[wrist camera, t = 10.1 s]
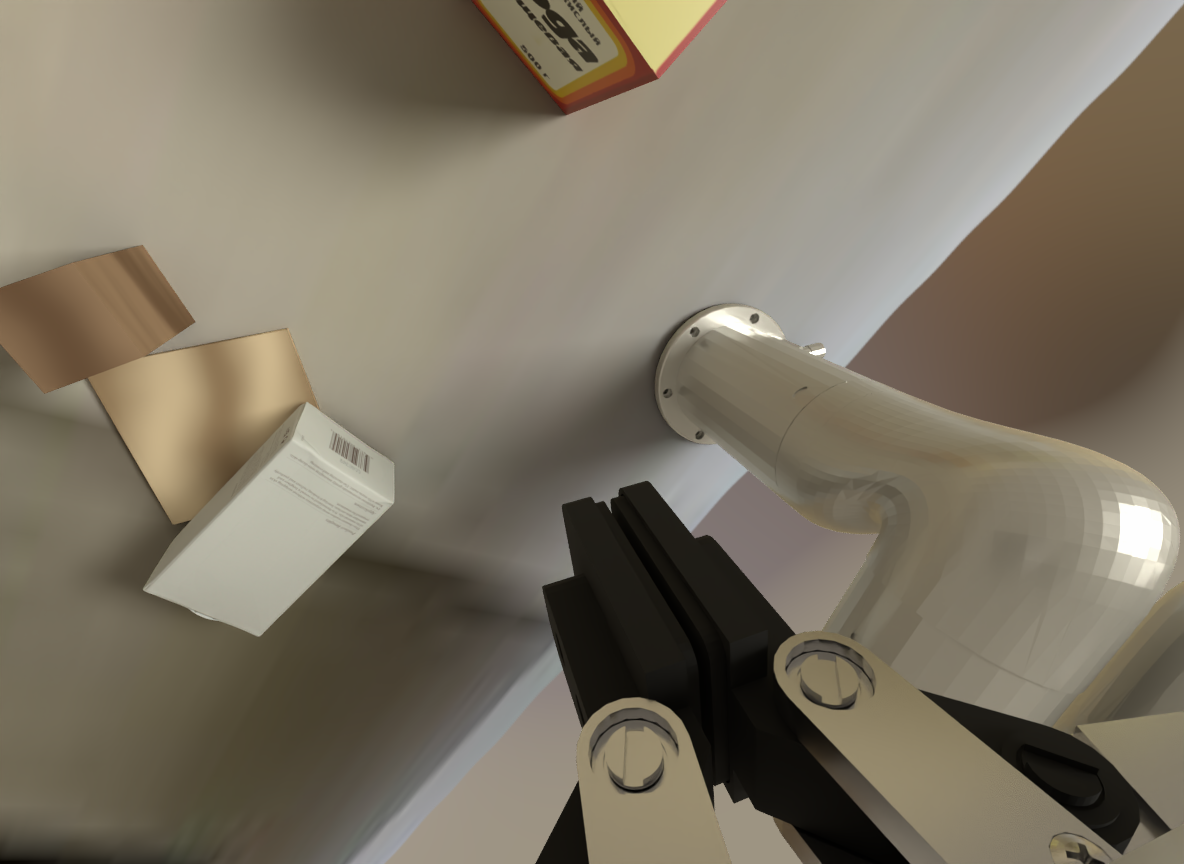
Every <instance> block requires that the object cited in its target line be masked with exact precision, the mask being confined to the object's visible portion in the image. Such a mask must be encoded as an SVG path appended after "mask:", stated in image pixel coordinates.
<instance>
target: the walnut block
mask: <svg viewBox="0 0 1184 864" xmlns="http://www.w3.org/2000/svg"><path fill="white" fill-rule="evenodd" d="M193 323H195V321H194V319H193V318H192V316H191V315H190V313H189V312H188V310H187V309H186V307H185V306H184V305H183V303H182V302H181V300H180V299H179V297H178V296H177V294H176V293H175V291H174V290H173V289H172V287H171V286H170V284H169V283H168V281H167V280H166V278H165V277H164V275H163V274H162V273H161V271H160V270H159V268H158V267H157V265H156V264H155V262H154V261H153V259H152V258H151V257H150V255H149V254H148V252H147V251H146V249H145V248H144V246H143V245H141V246H137V247H133V248H129V249H125V250H121V251H117V252H113V253H109V254H105V255H101V256H97V257H93V258H89V259H85V260H81V261H77V262H74V263H70V264H68V265H65V266H62V267H59V268H56V269H53V270H50V271H47V272H44V273H41V274H39V275H36V276H33V277H30V278H27V279H24V280H21V281H18V282H15V283H13V284H10V285H7V286H4V287H1V288H0V344H1V345H2V346H3V348H4V349H5V350H6V351H7V352H8V353H9V354H10V355H11V357H12V358H13V359H14V360H15V361H16V362H17V363H18V364H19V366H20V367H21V368H22V369H23V370H24V371H25V372H26V374H27V375H28V376H29V377H30V378H31V379H32V380H33V381H34V383H35V384H36V385H37V386H38V387H39V388H40V389H41V390H42V392H43V393H44V394H45V393H48V392H51V391H53V390H56V389H59V388H61V387H64V386H67V385H69V384H72V383H75V382H77V381H80V380H83V379H86V378H88V377H91V376H94V375H96V374H99V373H102V372H104V371H107V370H110V369H112V368H115V367H118V366H121V365H123V364H126V363H129V362H131V361H134V360H137V359H139V358H142V357H145V356H146V355H147V354H149V353H150V352H152V351H153V350H155V349H156V348H158V347H159V346H161V345H162V344H164V343H165V342H167V341H168V340H170V339H171V338H173V337H174V336H176V335H177V334H178V333H180V332H181V331H183V330H184V329H186V328H187V327H189V326H190V325H192V324H193Z"/></svg>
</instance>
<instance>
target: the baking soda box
mask: <svg viewBox="0 0 1184 864" xmlns="http://www.w3.org/2000/svg"><path fill="white" fill-rule="evenodd" d="M471 1H472V2H473V3H474V4H475V5H476V7H477V8H478V9H479V10H480V12H481V13H482V14H483V15H484V16H485V18H486V19H487V20H488V21H489V22H490V24H491V25H492V26H493V27H494V28H495V30H496V31H497V32H498V33H499V34H500V36H501V37H502V38H503V39H504V41H505V42H506V43H507V44H508V45H509V47H510V48H511V49H512V50H513V51H514V53H515V54H516V55H517V56H518V57H519V59H520V60H521V61H522V62H523V63H524V65H525V66H526V67H527V68H528V69H529V71H530V72H531V73H532V74H533V76H534V77H535V78H536V79H537V80H538V82H539V83H540V84H541V85H542V86H543V88H544V89H545V90H546V91H547V92H548V94H549V95H550V96H551V97H552V98H553V100H554V101H555V102H556V103H557V104H558V106H559V107H560V108H561V109H562V111H563V112H564V113H565V114H566V115H568V114H571V113H573V112H576V111H578V110H581V109H583V108H586V107H588V106H591V105H593V104H596V103H598V102H601V101H603V100H606V99H608V98H611V97H614V96H616V95H619V94H621V93H624V92H626V91H629V90H631V89H634V88H636V87H639V86H641V85H644V84H646V83H649V82H652V81H654V80H657V79H659V78H660V77H661V75H662V74H663V73H664V72H665V71H666V70H667V69H668V67H669V66H670V65H671V64H672V63H673V62H674V61H675V59H676V58H677V57H678V56H679V55H680V54H681V53H682V51H683V50H684V49H685V48H686V47H687V46H688V45H689V43H690V42H691V41H692V40H693V39H694V38H695V37H696V35H697V34H698V33H699V32H700V31H701V30H702V29H703V27H704V26H705V25H706V24H707V23H708V22H709V21H710V19H711V18H712V17H713V16H714V15H715V14H716V13H717V11H718V10H719V9H720V8H721V7H722V6H723V5H724V3H725V2H726V1H727V0H471Z"/></svg>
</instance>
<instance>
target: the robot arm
mask: <svg viewBox="0 0 1184 864" xmlns="http://www.w3.org/2000/svg"><path fill="white" fill-rule="evenodd" d="M691 329H692V331H691V332H690V330H691ZM824 356H825V348H824V346H823V344H821V343H815V344H811V345H807V346H805V347H801V346H799V345H796V344H794V343H792V342H789V341H787V340H786V339H785V336H784V334H783V332H782V330H781V329H780V327H779V325H778V324H777V323H776V322H775V321H774V320H773V319H772V318H771V317H770V316H769V315H767V314H766V313H764V312H763V311H761V310H759V309H756V308H753V307H751V306H747V305H743V304H722V305H717V306H713V307H710V308H708V309H706V310H703V311H701V312H699V313H698V314H696V315H695V316H693V317H692V318H690V319H689V320H687V321H686V322H685V323H684V324H683V325H682V326H681V327H680V328H679V329H678V330H677V331H676V332H675V334H674V335H673V336H672V337H671V339H670V340H669V341H668V343H667V345H666V347H665V349H664V351H663V352H662V354H661V357H660V360H659V363H658V366H657V370H656V376H655V397H656V401H657V405H658V408H659V410H660V412H661V414H662V416H663V418H664V420H665V421H666V422H667V423H668V425H669V426H670V427H671V428H672V429H673V430H675V431H676V432H677V433H678V434H679V435H681V436H682V437H684V438H686V439H687V440H690V441H692V442H695V443H700V444H709V445H710V444H718V445H719V446H720V447H721V448H723V449H724V450H725V451H726V452H727V453H728V454H730V455H731V456H732V457H733V458H734V459H735V460H737V461H738V462H739V463H740V464H741V465H742V466H744V467H745V468H746V469H747V470H748V471H750V472H751V473H752V474H753V475H754V476H755V477H757V478H758V479H759V480H760V481H761V482H763V483H764V484H765V485H766V486H767V487H768V488H770V489H771V490H772V491H773V492H774V493H775V494H777V495H778V496H779V497H780V498H781V499H782V500H784V501H785V502H786V503H787V504H788V505H790V506H791V507H792V508H793V509H794V510H796V511H797V512H798V513H799V514H800V515H802V516H803V517H805V518H806V519H807V520H809V521H810V522H812V523H814V524H816V525H818V526H820V527H823V528H826V529H830V530H833V531H836V532H843V533H851V534H879V535H878V537H877V539H876V540H875V542H874V544H873V546H872V547H871V549H870V551H869V552H868V554H867V556H866V561H865V562H864V564H863V566H862V567H861V569H860V570H859V572H858V573H857V575H856V577H855V578H854V580H853V581H852V583H851V584H850V586H849V588H848V589H847V591H846V592H845V594H844V596H843V597H842V599H841V601H840V602H839V604H838V605H837V607H836V609H835V610H834V612H833V613H832V615H831V616H830V618H829V619H828V621H827V623H826V624H825V626H824V627H823V629H822V631H812V632H803V633H800V634H797V635H796V634H795V633H794V632H793V631H792V630H791V629H790V627H789V626H788V625H787V624H786V622H785V621H784V620H783V619H782V618H781V617H780V616H779V614H778V613H777V612H776V611H775V610H774V609H773V607H772V606H771V605H770V604H769V603H768V601H767V600H766V599H765V598H764V597H763V595H762V594H761V593H760V592H759V591H758V590H757V589H756V587H755V586H754V585H753V584H752V583H751V582H750V580H749V579H748V578H747V577H746V576H745V574H744V573H743V572H742V571H741V570H740V569H739V567H738V566H737V565H736V564H735V563H734V562H733V560H732V559H731V558H730V557H729V556H728V555H727V553H726V552H725V551H724V550H723V549H722V547H721V546H720V545H719V544H718V543H717V542H716V541H715V540H714V539H713V538H712V537H711V536H708V535H705V536H702V537H699V538H694V537H693V536H692V534H691V533H690V532H689V531H688V529H687V528H686V527H685V526H684V524H683V523H682V522H681V521H680V519H679V518H678V517H677V516H676V514H675V513H674V512H673V511H672V509H671V508H670V507H669V506H668V504H667V503H666V502H665V501H664V499H663V498H662V497H661V496H660V494H659V493H658V492H657V491H656V489H655V488H654V487H653V486H652V484H651V483H650V482H649V481H644V482H641V483H637V484H634V485H630V486H627V487H623V488H620V489H619V497H616V498H612V499H611V510H612V513H611V512H610V510H609V508H608V507H607V505H606V503H605V502H604V501H602V502H598V503H595V502H594V500H593V499H592V498H591V497H588V498H584V499H581V500H577V501H573V502H570V503H566V504H563V505H562V511H563V517H564V522H565V528H566V533H567V538H568V544H569V549H570V554H571V560H572V565H573V570H574V576H573V577H570V578H567V579H564V580H560V581H557V582H554V583H551V584H548V585H544V586H543V587H542V588H543V594H544V599H545V603H546V608H547V612H548V617H549V621H550V625H551V629H552V633H553V636H554V640H555V644H556V647H557V651H558V654H559V658H560V661H561V664H562V667H563V671H564V674H565V676H566V680H567V683H568V686H569V689H570V692H571V696H572V699H573V702H574V705H575V708H576V711H577V714H578V718H579V721H580V724H581V727H582V731H581V734H580V737H579V740H578V742H577V756H576V763H577V771H578V779H579V780H578V782H577V784H576V786H575V788H574V790H573V792H572V794H571V796H570V798H569V800H568V802H567V804H566V806H565V807H564V809H563V811H562V813H561V815H560V817H559V819H558V821H557V823H556V825H555V827H554V829H553V831H552V833H551V834H550V836H549V838H548V840H547V842H546V844H545V846H544V848H543V850H542V852H541V854H540V856H539V858H538V860H537V862H536V863H535V864H732V863H731V860H730V857H729V854H728V851H727V848H726V845H725V842H724V839H723V836H722V833H721V830H720V827H719V824H718V821H717V818H716V815H715V811H714V791H713V785H714V786H716V785H718V784H721V783H724V785H725V787H726V789H727V791H728V793H729V795H730V797H731V799H732V801H733V803H736V802H739V801H741V800H743V799H746V798H748V797H749V799H750V800H751V802H752V804H753V806H754V808H755V809H757V810H759V811H761V812H763V813H765V814H768V815H770V816H773V819H774V822H775V824H776V825H777V827H778V829H779V831H780V833H781V834H782V836H783V837H784V839H785V840H786V841H787V843H788V844H789V845H790V847H791V848H792V849H793V851H794V852H795V853H796V855H797V856H798V858H799V859H800V860H801V862H802V863H803V864H1184V581H1182V582H1181V583H1180V584H1178V585H1177V586H1175V587H1174V588H1172V589H1170V590H1169V591H1168V592H1167V593H1166V594H1165V595H1163V596H1162V597H1161V598H1160V599H1159V600H1158V598H1159V597H1160V595H1161V594H1162V592H1163V590H1164V588H1165V586H1166V584H1167V582H1168V580H1169V578H1170V576H1171V574H1172V572H1173V569H1174V567H1175V563H1176V560H1177V557H1178V551H1179V544H1180V529H1179V523H1178V519H1177V516H1176V513H1175V510H1174V508H1173V507H1172V505H1171V503H1170V502H1169V500H1168V499H1167V497H1166V496H1165V495H1164V494H1163V493H1162V491H1161V490H1160V489H1159V488H1158V487H1157V486H1156V485H1154V484H1153V483H1152V482H1151V481H1150V480H1149V479H1147V478H1146V477H1145V476H1143V475H1142V474H1140V473H1139V472H1137V471H1135V470H1134V469H1132V468H1130V467H1129V466H1127V465H1125V464H1123V463H1121V462H1119V461H1116V460H1114V459H1112V458H1109V457H1107V456H1105V455H1103V454H1100V453H1098V452H1095V451H1092V450H1090V449H1087V448H1084V447H1081V446H1077V445H1074V444H1071V443H1068V442H1065V441H1061V440H1057V439H1053V438H1049V437H1046V436H1042V435H1037V434H1034V433H1029V432H1026V431H1022V430H1018V429H1014V428H1010V427H1006V426H1002V425H998V424H994V423H990V422H986V421H982V420H979V419H975V418H972V417H969V416H965V415H962V414H959V413H955V412H952V411H949V410H947V409H944V408H942V407H939V406H936V405H934V404H931V403H928V402H926V401H923V400H920V399H918V398H915V397H913V396H910V395H907V394H905V393H903V392H901V391H898V390H896V389H893V388H891V387H889V386H886V385H884V384H881V383H879V382H876V381H874V380H872V379H869V378H867V377H865V376H862V375H860V374H857V373H855V372H853V371H851V370H848V369H846V368H844V367H841V366H839V365H837V364H834V363H832V362H830V361H828V360H825V359H823V357H824ZM665 389H666V390H665ZM664 390H665V392H664ZM1157 600H1158V601H1157ZM1156 601H1157V602H1156Z"/></svg>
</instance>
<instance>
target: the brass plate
mask: <svg viewBox="0 0 1184 864" xmlns="http://www.w3.org/2000/svg"><path fill="white" fill-rule="evenodd" d="M88 379H89V381H90V383H91V384H92V386H93V388H94V390H95V391H96V393H97V395H98V397H99V398H100V400H101V402H102V403H103V405H104V407H105V409H106V410H107V412H108V414H109V415H110V417H111V419H112V421H113V422H114V424H115V426H116V428H117V429H118V431H119V433H120V434H121V436H122V438H123V440H124V441H125V443H126V445H127V446H128V448H129V450H130V452H131V453H132V455H133V457H134V459H135V460H136V462H137V464H138V465H139V467H140V469H141V471H142V472H143V474H144V476H145V477H146V479H147V481H148V483H149V484H150V486H151V488H152V490H153V491H154V493H155V495H156V496H157V498H158V500H159V502H160V503H161V505H162V507H163V509H164V510H165V512H166V514H167V515H168V517H169V519H170V521H171V522H172V524H173V525H174V524H178V523H182V522H186V521H190V520H192V519H193V518H194V517H195V516H196V515H197V514H198V512H199V511H200V510H201V509H202V508H203V507H204V506H205V505H206V504H207V503H208V502H209V501H210V500H211V499H212V498H213V497H214V496H215V495H216V494H217V492H218V491H219V490H220V489H221V488H222V487H223V486H224V485H225V484H226V483H227V482H228V481H229V480H230V479H231V478H232V477H233V476H234V475H235V474H236V473H237V472H238V470H239V469H240V468H241V467H242V466H243V465H244V464H245V463H246V462H247V461H248V460H249V459H250V458H251V457H252V456H253V455H254V453H255V452H256V451H257V450H258V449H259V448H260V447H261V446H262V445H263V444H264V443H265V442H266V441H267V440H268V439H269V438H270V436H271V435H272V434H273V433H274V432H275V431H276V430H277V429H278V428H279V427H280V426H281V425H282V424H283V423H284V422H285V421H286V420H287V419H288V418H289V417H290V416H291V414H292V413H293V412H294V411H295V410H296V409H297V408H298V407H299V406H300V405H302V404H305V403H306V402H308V403H310V404H311V405H313V406H314V407H316V408H317V409H318V410H319V411H320V409H319V407H318V404H317V401H316V399H315V396H314V394H313V391H312V389H311V386H310V383H309V381H308V378H307V376H306V373H305V371H304V368H303V365H302V363H301V360H300V358H299V355H298V353H297V350H296V347H295V345H294V342H293V340H292V337H291V334H290V332H289V329H288V328H286V329H281V330H275V331H270V332H265V333H260V334H255V335H249V336H244V337H239V338H234V339H229V340H224V341H218V342H213V343H208V344H203V345H198V346H192V347H187V348H182V349H177V350H172V351H167V352H161V353H156V354H151V355H146V356H145V357H142V358H139V359H137V360H134V361H131V362H129V363H126V364H123V365H121V366H118V367H115V368H112V369H110V370H107V371H104V372H102V373H99V374H96V375H94V376H91V377H88Z"/></svg>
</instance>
